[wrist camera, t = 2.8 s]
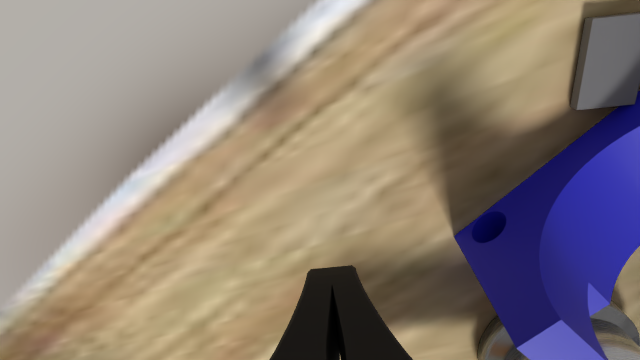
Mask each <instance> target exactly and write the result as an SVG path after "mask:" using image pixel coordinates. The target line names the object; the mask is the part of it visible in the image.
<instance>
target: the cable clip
mask: <svg viewBox="0 0 640 360" xmlns="http://www.w3.org/2000/svg"><path fill="white" fill-rule="evenodd" d="M454 238H455V239H456V241H457V243H458V245H459V246H460V248H461V250H462V252H463V254H464V255H465V257H466V259H467V261H468V263H469V264H470V266H471V268H472V270H473V272H474V273H475V275H476V277H477V279H478V281H479V282H480V284H481V286H482V288H483V289H484V291H485V293H486V295H487V297H488V298H489V300H490V302H491V304H492V306H493V307H494V309H495V311H496V313H497V315H498V316H499V318H500V320H501V322H502V323H503V325H504V327H505V329H506V331H507V332H508V334H509V336H510V338H511V340H512V341H513V343H514V345H515V347H516V348H517V349H518V350H519V351H520V352H521V353H523V354H524V355H525V356H526V357H527V358H529V359H530V360H608V358H607V357H606V355H605V353H604V351H603V350H602V348H601V346H600V344H599V342H598V340H597V337H596V335H595V333H594V330H593V327H592V323H591V319H590V316H591V315H593V314H595V313H596V312H598V311H599V310H601V309H603V308H604V307H606V306H607V305H609V304H610V301H611V296H612V292H613V288H614V285H615V282H616V280H617V277H618V275H619V273H620V271H621V269H622V268H623V266H624V265H625V263H626V262H627V260H628V259H629V257H630V256H631V255H632V254H633V252H634V251H635V250H636V249H637V248H638V247H639V246H640V90H639V91H638V93H637V97H636V101H635V104H632V105H623V106H619V107H618V108H616V109H615V110H614V111H612V112H611V113H610V114H609V115H607V116H606V117H605V118H604V119H602V120H601V121H600V122H599V123H597V124H596V125H595V126H593V127H592V128H591V129H590V130H588V131H587V132H586V133H585V134H583V135H582V136H581V137H579V138H578V139H577V140H576V141H574V142H573V143H572V144H571V145H569V146H568V147H567V148H566V149H564V150H563V151H562V152H560V153H559V154H558V155H557V156H555V157H554V158H553V159H552V160H550V161H549V162H548V163H546V164H545V165H544V166H543V167H541V168H540V169H539V170H538V171H536V172H535V173H534V174H532V175H531V176H530V177H529V178H527V179H526V180H525V181H524V182H522V183H521V184H520V185H519V186H517V187H516V188H515V189H513V190H512V191H511V192H510V193H508V194H507V195H506V196H505V197H503V198H502V199H501V200H499V201H498V202H497V203H496V204H494V205H493V206H492V207H491V208H489V209H488V210H487V211H485V212H484V213H483V214H482V215H480V216H479V217H478V218H477V219H475V220H474V221H473V222H472V223H470V224H469V225H468V226H466V227H465V228H464V229H463V230H461V231H460V232H459V233H458V234H456V235H455V236H454Z"/></svg>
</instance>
